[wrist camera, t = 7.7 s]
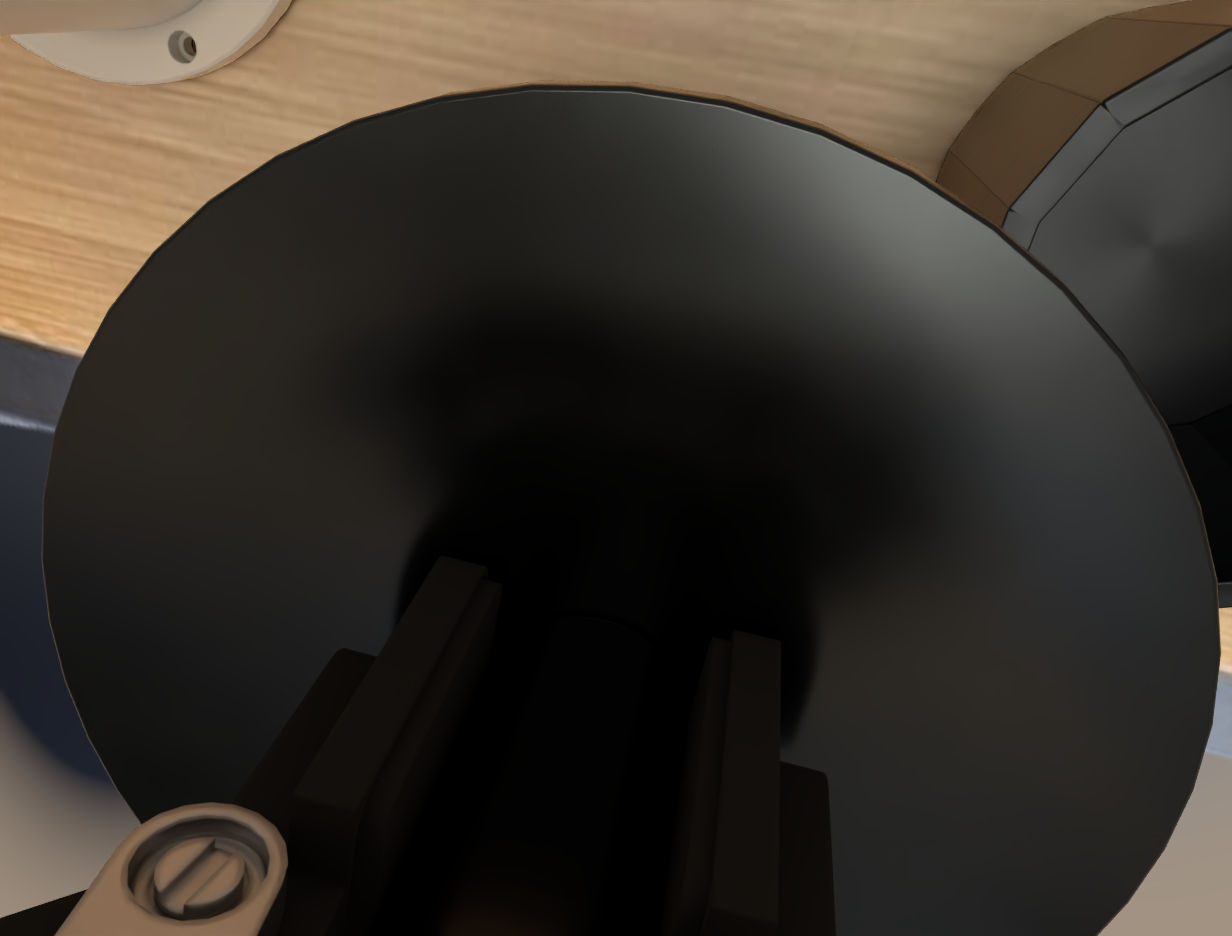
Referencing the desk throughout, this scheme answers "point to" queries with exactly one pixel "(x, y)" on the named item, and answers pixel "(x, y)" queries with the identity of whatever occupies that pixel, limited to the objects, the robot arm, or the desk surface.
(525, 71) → the desk surface
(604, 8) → the desk surface
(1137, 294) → the trash can
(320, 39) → the desk surface
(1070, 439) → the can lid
